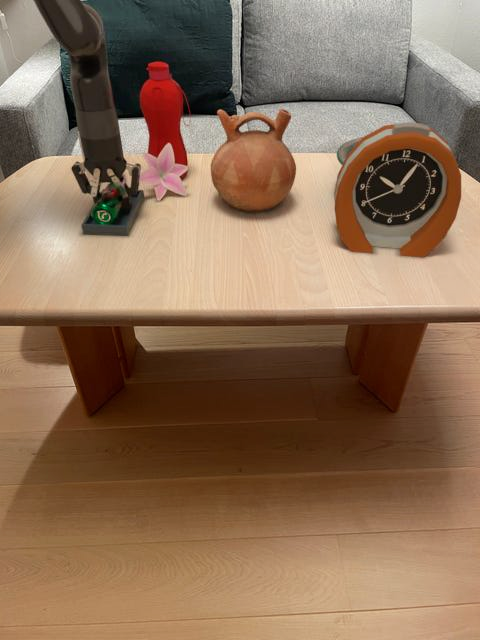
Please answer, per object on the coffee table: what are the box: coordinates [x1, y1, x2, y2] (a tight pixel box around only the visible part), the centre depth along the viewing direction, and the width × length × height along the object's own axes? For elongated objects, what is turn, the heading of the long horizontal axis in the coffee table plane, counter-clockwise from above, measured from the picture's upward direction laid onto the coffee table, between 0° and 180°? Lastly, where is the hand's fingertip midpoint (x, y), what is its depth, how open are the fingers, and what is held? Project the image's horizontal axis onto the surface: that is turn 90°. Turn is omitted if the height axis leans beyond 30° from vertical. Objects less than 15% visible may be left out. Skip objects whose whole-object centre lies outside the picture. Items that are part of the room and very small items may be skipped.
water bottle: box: [139, 61, 192, 180], centre depth 108 cm, size 9×11×25 cm
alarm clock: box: [333, 121, 462, 258], centre depth 87 cm, size 22×10×23 cm, turn 82°
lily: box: [139, 143, 189, 202], centre depth 107 cm, size 12×12×10 cm
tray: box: [80, 188, 145, 237], centre depth 100 cm, size 16×9×2 cm, turn 177°
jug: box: [210, 108, 297, 214], centre depth 100 cm, size 18×18×20 cm
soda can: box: [91, 182, 123, 225], centre depth 98 cm, size 5×5×12 cm
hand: (114, 210), depth 100 cm, fingers closed on soda can, 5 cm apart
